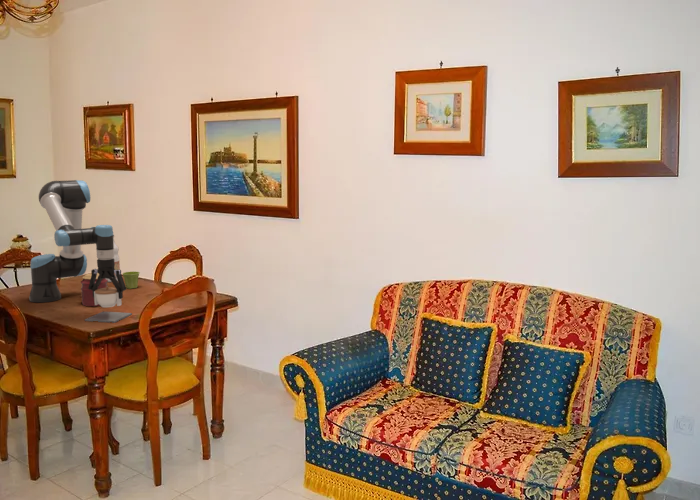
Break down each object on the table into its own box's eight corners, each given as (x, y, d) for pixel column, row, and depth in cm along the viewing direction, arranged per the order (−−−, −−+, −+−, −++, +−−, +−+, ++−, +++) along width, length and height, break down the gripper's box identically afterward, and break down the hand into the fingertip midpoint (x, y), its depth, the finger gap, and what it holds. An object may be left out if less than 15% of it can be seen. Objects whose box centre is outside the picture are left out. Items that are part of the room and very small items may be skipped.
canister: (76, 306, 321) (74, 271, 318) (90, 300, 333) (88, 267, 331) (100, 307, 319) (99, 272, 316) (114, 301, 331) (112, 268, 329)
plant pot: (135, 289, 359) (134, 274, 358) (119, 289, 360) (119, 274, 359) (143, 286, 368) (142, 271, 367) (128, 285, 369) (127, 271, 368)
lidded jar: (112, 302, 305) (111, 283, 304) (124, 305, 298) (123, 286, 297) (91, 306, 297) (90, 286, 295) (103, 309, 290) (102, 289, 289)
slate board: (84, 321, 293) (84, 319, 293) (103, 313, 307) (103, 311, 307) (114, 322, 290) (114, 321, 290) (131, 314, 304) (131, 313, 304)
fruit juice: (116, 282, 379) (113, 235, 374) (100, 282, 380) (98, 235, 375) (123, 279, 388) (120, 233, 384) (108, 279, 389) (105, 233, 385)
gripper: (78, 258, 293) (81, 305, 296) (124, 260, 289) (126, 308, 292) (87, 256, 300) (90, 302, 303) (132, 258, 296) (135, 304, 299)
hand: (108, 304), depth 298 cm, fingers closed on lidded jar, 11 cm apart
